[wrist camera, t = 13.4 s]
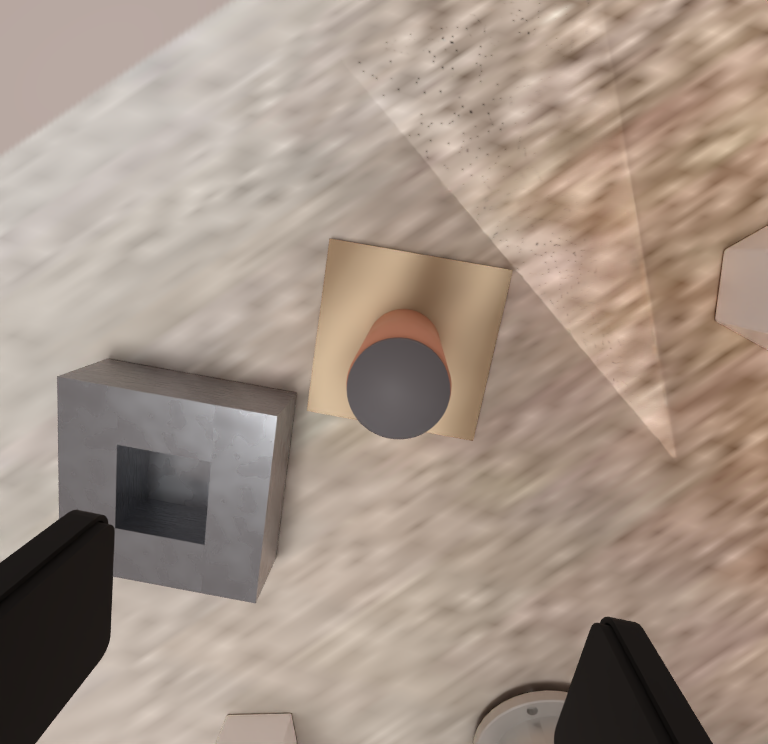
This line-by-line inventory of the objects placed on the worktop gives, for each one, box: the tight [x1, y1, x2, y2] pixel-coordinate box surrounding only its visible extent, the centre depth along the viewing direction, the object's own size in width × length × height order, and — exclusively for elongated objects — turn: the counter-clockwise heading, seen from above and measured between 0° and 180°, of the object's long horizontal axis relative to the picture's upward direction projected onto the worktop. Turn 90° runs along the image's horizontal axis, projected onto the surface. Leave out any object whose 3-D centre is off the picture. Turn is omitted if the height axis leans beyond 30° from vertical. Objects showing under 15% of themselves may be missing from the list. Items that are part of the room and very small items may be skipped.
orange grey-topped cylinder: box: [346, 309, 452, 439], centre depth 27 cm, size 5×5×11 cm
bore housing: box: [57, 359, 297, 603], centre depth 34 cm, size 14×14×5 cm
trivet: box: [307, 239, 513, 441], centre depth 32 cm, size 12×12×1 cm
